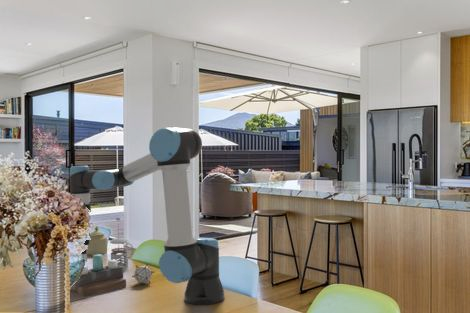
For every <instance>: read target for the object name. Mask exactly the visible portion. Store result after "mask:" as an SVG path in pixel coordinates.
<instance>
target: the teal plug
mask: <svg viewBox="0 0 470 313" xmlns="http://www.w3.org/2000/svg"><path fill="white" fill-rule="evenodd" d="M103 256H104V254H97V255H92V269H93V271H101V270H103V267H104V264H103V263H104V260H103Z"/></svg>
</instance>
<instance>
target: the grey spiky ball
mask: <svg viewBox="0 0 470 313" xmlns="http://www.w3.org/2000/svg"><path fill="white" fill-rule="evenodd" d="M135 267H136V268H135V271H134V273H133V275H132V276H131V277H132V278H134V279H135V280H136V281H137V282H138V286H140V285H141V284H145V283H149V284H151V279H152V275H153V274H154V273H155V271H152V270H151V268H150V267H149V266H148V263H146V264H145V265H140V266H139V265H135Z"/></svg>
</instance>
